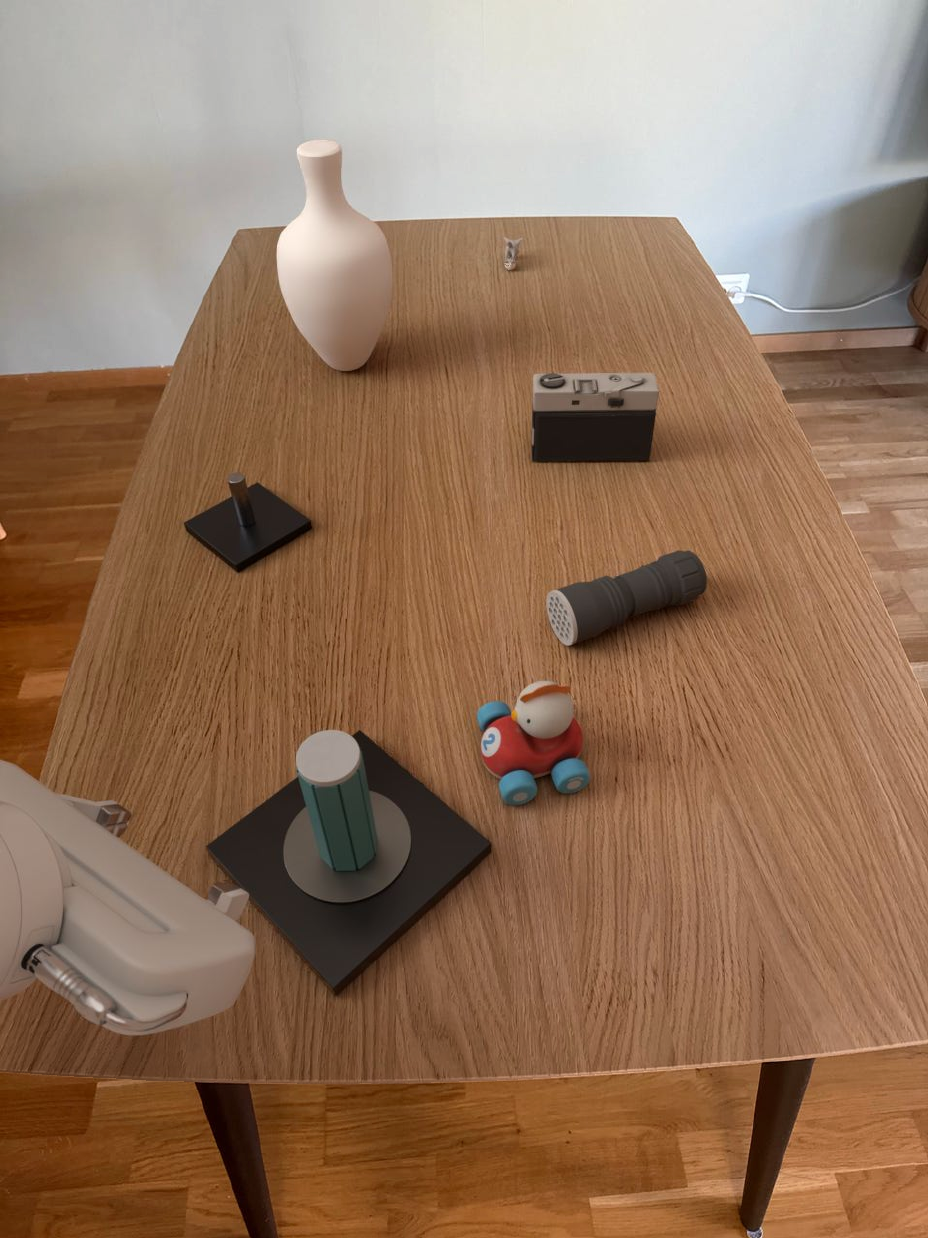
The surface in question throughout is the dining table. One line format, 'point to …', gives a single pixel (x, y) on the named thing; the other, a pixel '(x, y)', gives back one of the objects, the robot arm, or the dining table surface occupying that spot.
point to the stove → (350, 900)
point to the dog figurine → (511, 252)
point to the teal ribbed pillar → (337, 799)
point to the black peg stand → (247, 524)
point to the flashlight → (624, 596)
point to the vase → (334, 265)
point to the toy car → (533, 742)
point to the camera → (593, 416)
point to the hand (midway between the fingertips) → (176, 857)
